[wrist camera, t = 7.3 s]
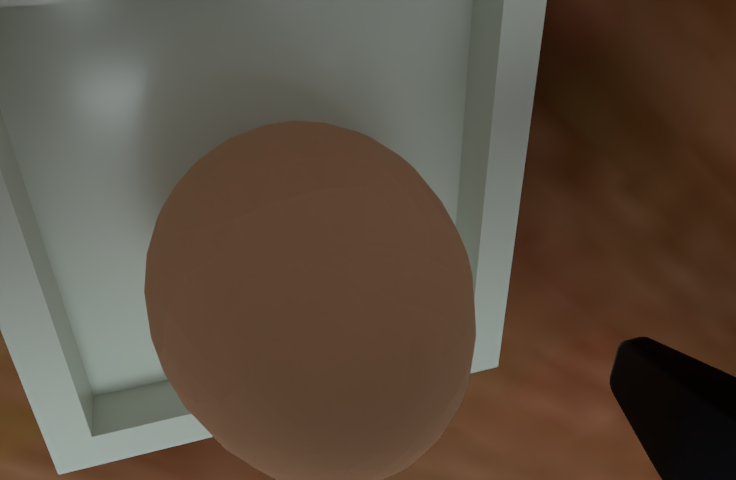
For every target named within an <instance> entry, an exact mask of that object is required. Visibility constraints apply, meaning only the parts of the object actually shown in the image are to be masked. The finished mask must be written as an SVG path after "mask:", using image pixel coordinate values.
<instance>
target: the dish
mask: <svg viewBox="0 0 736 480" xmlns="http://www.w3.org/2000/svg"><path fill="white" fill-rule="evenodd" d="M546 3H547V0H0V330H1V333H2V335H3V338H4V340H5V343H6V345H7V348H8V350H9V353H10V355H11V358H12V360H13V363H14V365H15V368H16V370H17V373H18V375H19V378H20V380H21V383H22V385H23V388H24V390H25V393H26V395H27V398H28V400H29V403H30V405H31V408H32V410H33V413H34V415H35V418H36V420H37V423H38V425H39V428H40V430H41V433H42V435H43V438H44V440H45V443H46V445H47V448H48V450H49V453H50V455H51V458H52V460H53V463H54V465H55V468H56V470H57V473H58V475H60V474H64V473H68V472H72V471H76V470H80V469H84V468H88V467H92V466H96V465H100V464H105V463H109V462H113V461H117V460H121V459H125V458H129V457H133V456H137V455H141V454H145V453H149V452H153V451H157V450H162V449H166V448H170V447H174V446H178V445H182V444H186V443H190V442H194V441H198V440H202V439H206V438H210V437H213V436H212V435H211V434H210V433H209V431H208V430H207V429H206V428H205V427H204V426H203V425H202V424H201V423H200V422H199V421H198V420H197V419H196V418H195V417H194V416H193V415H192V414H191V413H190V412H189V411H188V410H187V409H186V408H185V406H184V404H183V403H182V401H181V400H180V398H179V396H178V395H177V393H176V391H175V390H174V388H173V387H172V385H171V383H170V382H169V380H168V378H167V377H166V375H165V374H164V372H163V369H162V366H161V364H160V361H159V358H158V355H157V353H156V350H155V347H154V344H153V342H152V339H151V334H150V328H149V321H148V315H147V308H146V301H145V295H144V286H145V272H146V257H147V251H148V248H149V244H150V241H151V237H152V234H153V230H154V227H155V223H156V220H157V217H158V215H159V213H160V211H161V208H162V207H163V205H164V203H165V202H166V200H167V199H168V197H169V195H170V194H171V192H172V190H173V189H174V187H175V186H176V184H177V183H178V182H179V181H180V180H181V178H182V177H183V176H184V175H185V174H186V173H187V172H188V170H189V169H190V168H191V167H192V166H193V165H194V164H195V163H196V162H197V161H198V160H199V159H200V158H202V157H203V156H205V155H206V154H207V153H209V152H210V151H212V150H213V149H215V148H216V147H217V146H219V145H220V144H222V143H223V142H225V141H226V140H227V139H229V138H231V137H234V136H237V135H239V134H242V133H244V132H247V131H250V130H252V129H255V128H258V127H260V126H263V125H269V124H275V123H282V122H288V121H307V122H325V123H328V124H332V125H335V126H339V127H342V128H346V129H349V130H353V131H357V132H360V133H362V134H365V135H367V136H369V137H371V138H373V139H374V140H376V141H377V142H379V143H381V144H382V145H384V146H385V147H387V148H389V149H390V150H392V151H393V152H395V153H397V154H398V155H400V156H401V157H402V158H403V159H404V160H406V161H407V162H408V163H409V164H410V165H412V166H413V167H414V168H415V170H416V171H417V172H418V173H419V174H420V176H421V177H422V178H423V179H424V180H425V182H426V183H427V184H428V185H429V186H430V188H431V189H432V190H433V191H434V192H435V194H436V195H437V196H438V198H439V199H440V200H441V201H442V203H443V205H444V207H445V209H446V210H447V212H448V214H449V216H450V217H451V219H452V221H453V223H454V225H455V226H456V228H457V230H458V232H459V235H460V237H461V240H462V242H463V244H464V247H465V249H466V252H467V254H468V258H469V262H470V267H471V271H472V275H473V289H474V305H475V321H476V340H475V347H474V354H473V360H472V366H471V372H470V374H471V373H475V372H479V371H483V370H487V369H491V368H495V367H498V363H499V355H500V348H501V340H502V333H503V325H504V318H505V310H506V303H507V295H508V288H509V280H510V273H511V265H512V258H513V250H514V243H515V235H516V228H517V220H518V213H519V205H520V198H521V190H522V183H523V175H524V168H525V160H526V153H527V145H528V138H529V130H530V123H531V115H532V108H533V100H534V93H535V85H536V78H537V70H538V63H539V55H540V48H541V40H542V33H543V25H544V18H545V10H546Z"/></svg>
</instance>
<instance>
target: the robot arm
mask: <svg viewBox="0 0 736 480" xmlns="http://www.w3.org/2000/svg"><path fill="white" fill-rule="evenodd" d="M610 386H611V389H612V392H613V394H614V396H615V398H616V400H617V401H618V403H619V405H620V407H621V409H622V410H623V412H624V414H625V416H626V418H627V419H628V421H629V423H630V425H631V426H632V428H633V430H634V432H635V434H636V435H637V437H638V439H639V441H640V442H641V444H642V446H643V448H644V450H645V451H646V453H647V455H648V457H649V459H650V460H651V462H652V464H653V465H654V467H655V469H656V470H657V472H658V474H659V475H660V477H661V478H662V480H736V377H734V376H732V375H730V374H728V373H725V372H723V371H721V370H719V369H716V368H714V367H712V366H710V365H708V364H705V363H703V362H701V361H699V360H697V359H694V358H692V357H690V356H688V355H686V354H683V353H681V352H679V351H677V350H675V349H672V348H670V347H668V346H666V345H663V344H661V343H659V342H657V341H655V340H652V339H650V338H647V337H638V338H634V339H630V340H626V341H623V342H621V343H620V345H619V346H618V348H617V352H616V356H615V360H614V364H613V367H612V371H611V375H610Z"/></svg>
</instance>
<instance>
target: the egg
mask: <svg viewBox="0 0 736 480" xmlns="http://www.w3.org/2000/svg"><path fill="white" fill-rule="evenodd" d="M144 295H145V301H146V308H147V315H148V321H149V328H150V334H151V339H152V342H153V344H154V347H155V350H156V353H157V355H158V358H159V361H160V364H161V366H162V369H163V372H164V374H165V375H166V377H167V378H168V380H169V382H170V383H171V385H172V387H173V388H174V390H175V391H176V393H177V395H178V396H179V398H180V400H181V401H182V403H183V404H184V406H185V408H186V409H187V410H188V411H189V412H190V413H191V414H192V415H193V416H194V417H195V418H196V419H197V420H198V421H199V422H200V423H201V424H202V425H203V426H204V427H205V428H206V429H207V430H208V431H209V433H210V434H211V435H212V436H213V437H214V438H215V439H216V440H217V441H218V442H219V443H220V444H221V445H222V446H223V447H224V448H225V449H226V450H228V451H229V452H231V453H232V454H234V455H235V456H237V457H239V458H240V459H242V460H243V461H245V462H246V463H248V464H250V465H251V466H253V467H254V468H256V469H258V470H259V471H261V472H263V473H265V474H267V475H268V476H270V477H272V478H274V479H276V480H383V479H385V478H387V477H389V476H391V475H393V474H395V473H398V472H400V471H402V470H404V469H406V468H408V467H409V466H410V465H412V464H413V463H414V462H415V461H416V460H417V459H418V458H419V457H420V456H421V455H422V454H424V453H425V452H426V451H427V450H428V449H429V448H430V447H431V446H432V445H433V444H434V443H436V442H437V441H438V440H439V438H440V437H441V435H442V434H443V432H444V431H445V429H446V427H447V426H448V424H449V423H450V421H451V420H452V418H453V416H454V415H455V413H456V412H457V410H458V408H459V407H460V405H461V403H462V400H463V397H464V394H465V392H466V389H467V386H468V383H469V378H470V372H471V366H472V360H473V354H474V347H475V340H476V321H475V305H474V289H473V275H472V271H471V267H470V262H469V258H468V254H467V252H466V249H465V247H464V244H463V242H462V240H461V237H460V235H459V232H458V230H457V228H456V226H455V225H454V223H453V221H452V219H451V217H450V216H449V214H448V212H447V210H446V209H445V207H444V205H443V203H442V201H441V200H440V199H439V198H438V196H437V195H436V194H435V192H434V191H433V190H432V189H431V188H430V186H429V185H428V184H427V183H426V182H425V180H424V179H423V178H422V177H421V176H420V174H419V173H418V172H417V171H416V170H415V168H414V167H413V166H412V165H410V164H409V163H408V162H407V161H406V160H404V159H403V158H402V157H401V156H400V155H398V154H397V153H395V152H393V151H392V150H390V149H389V148H387V147H385V146H384V145H382V144H381V143H379V142H377V141H376V140H374V139H373V138H371V137H369V136H367V135H365V134H362V133H360V132H357V131H353V130H349V129H346V128H342V127H339V126H335V125H332V124H328V123H325V122H307V121H288V122H282V123H275V124H269V125H263V126H260V127H258V128H255V129H252V130H250V131H247V132H244V133H242V134H239V135H237V136H234V137H231V138H229V139H227V140H226V141H225V142H223V143H222V144H220V145H219V146H217V147H216V148H215V149H213V150H212V151H210V152H209V153H207V154H206V155H205V156H203V157H202V158H200V159H199V160H198V161H197V162H196V163H195V164H194V165H193V166H192V167H191V168H190V169H189V170H188V172H187V173H186V174H185V175H184V176H183V177H182V178H181V180H180V181H179V182H178V183H177V184H176V186H175V187H174V189H173V190H172V192H171V194H170V195H169V197H168V199H167V200H166V202H165V203H164V205H163V207H162V208H161V211H160V213H159V215H158V217H157V220H156V223H155V227H154V230H153V234H152V237H151V241H150V244H149V248H148V251H147V257H146V272H145V286H144Z"/></svg>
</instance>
